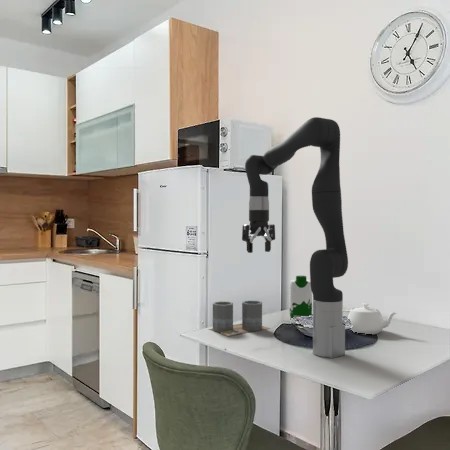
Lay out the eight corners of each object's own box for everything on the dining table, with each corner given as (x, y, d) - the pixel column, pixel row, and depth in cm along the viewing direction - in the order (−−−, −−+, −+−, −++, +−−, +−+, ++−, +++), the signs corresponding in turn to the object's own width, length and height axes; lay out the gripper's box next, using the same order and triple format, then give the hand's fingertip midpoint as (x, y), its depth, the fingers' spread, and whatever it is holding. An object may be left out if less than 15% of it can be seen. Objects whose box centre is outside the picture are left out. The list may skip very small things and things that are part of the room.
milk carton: (289, 328, 184) (290, 276, 184) (289, 322, 193) (289, 274, 193) (312, 328, 183) (313, 277, 183) (310, 323, 192) (311, 274, 192)
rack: (271, 331, 179) (271, 302, 178) (228, 340, 167) (228, 308, 167) (249, 325, 189) (249, 297, 189) (208, 332, 177) (208, 302, 177)
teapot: (333, 332, 178) (333, 303, 178) (343, 325, 190) (343, 298, 189) (393, 340, 167) (394, 309, 166) (401, 332, 178) (401, 303, 178)
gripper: (250, 208, 170) (250, 253, 170) (279, 209, 178) (279, 252, 179) (237, 209, 176) (237, 252, 176) (266, 209, 184) (266, 250, 185)
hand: (258, 252), depth 177 cm, fingers open, 8 cm apart
